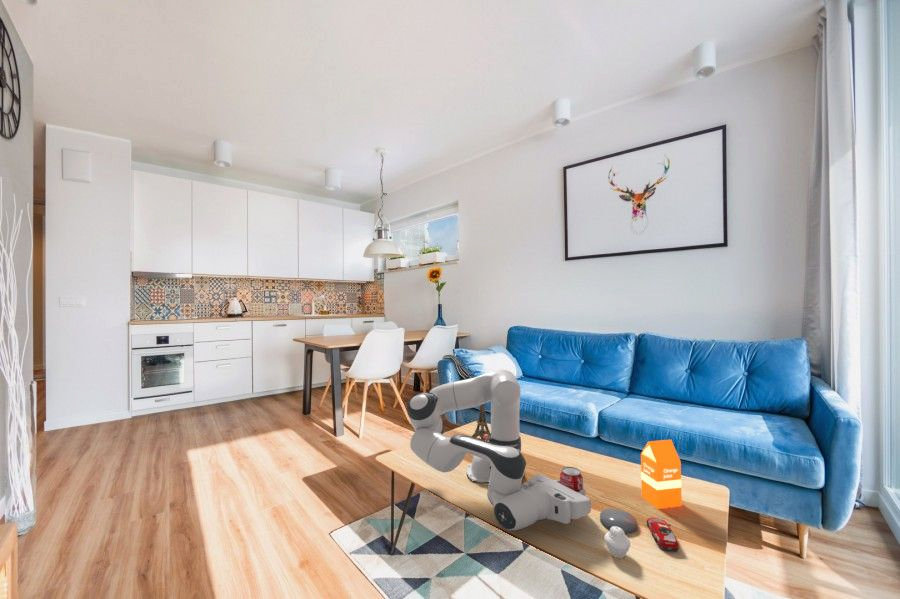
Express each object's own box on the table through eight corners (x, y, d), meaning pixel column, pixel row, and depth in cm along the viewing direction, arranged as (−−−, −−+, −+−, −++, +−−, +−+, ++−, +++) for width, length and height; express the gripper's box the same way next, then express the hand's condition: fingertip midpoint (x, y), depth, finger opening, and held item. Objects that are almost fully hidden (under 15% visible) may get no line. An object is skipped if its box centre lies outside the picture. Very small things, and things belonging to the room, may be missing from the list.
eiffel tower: (466, 442, 176) (466, 389, 176) (482, 436, 183) (481, 386, 183) (482, 448, 168) (481, 393, 168) (498, 442, 175) (497, 390, 175)
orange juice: (682, 506, 118) (680, 443, 119) (657, 509, 117) (656, 445, 117) (664, 494, 126) (663, 435, 126) (641, 496, 125) (639, 437, 125)
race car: (644, 523, 110) (644, 509, 110) (665, 525, 109) (664, 512, 109) (658, 551, 98) (657, 536, 98) (681, 554, 96) (680, 539, 96)
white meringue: (605, 559, 95) (604, 531, 95) (604, 544, 100) (603, 518, 101) (631, 564, 92) (631, 536, 93) (629, 549, 98) (629, 523, 98)
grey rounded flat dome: (609, 534, 105) (609, 529, 105) (594, 514, 115) (594, 509, 115) (644, 533, 105) (644, 527, 105) (626, 513, 115) (625, 508, 115)
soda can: (580, 503, 120) (579, 465, 120) (586, 515, 113) (585, 476, 113) (558, 502, 121) (557, 465, 121) (562, 514, 113) (562, 475, 114)
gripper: (519, 495, 118) (549, 483, 126) (571, 527, 101) (603, 511, 108) (519, 475, 118) (549, 465, 126) (571, 504, 101) (602, 489, 108)
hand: (574, 486), depth 117 cm, fingers closed on soda can, 5 cm apart
